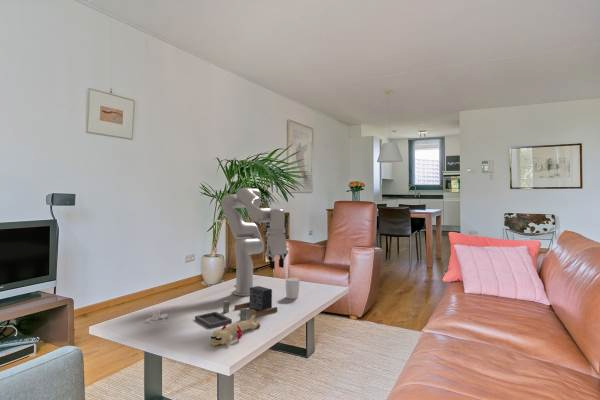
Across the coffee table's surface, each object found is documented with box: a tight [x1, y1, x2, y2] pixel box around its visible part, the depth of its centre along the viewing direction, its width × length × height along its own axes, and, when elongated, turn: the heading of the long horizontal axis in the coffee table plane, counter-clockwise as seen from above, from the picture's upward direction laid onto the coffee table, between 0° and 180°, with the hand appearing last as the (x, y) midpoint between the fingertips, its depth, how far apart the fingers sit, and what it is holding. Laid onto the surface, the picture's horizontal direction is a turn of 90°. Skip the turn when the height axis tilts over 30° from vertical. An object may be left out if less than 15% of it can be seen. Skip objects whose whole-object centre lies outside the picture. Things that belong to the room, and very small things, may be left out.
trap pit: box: [194, 311, 233, 329], centre depth 157 cm, size 14×10×2 cm
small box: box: [248, 285, 273, 312], centre depth 174 cm, size 11×6×10 cm, turn 47°
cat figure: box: [210, 309, 261, 346], centre depth 140 cm, size 10×9×25 cm
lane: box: [222, 300, 278, 322], centre depth 170 cm, size 17×20×5 cm
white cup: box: [285, 277, 301, 300], centre depth 196 cm, size 8×8×10 cm
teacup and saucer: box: [146, 309, 169, 324], centre depth 159 cm, size 9×8×4 cm
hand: (276, 267), depth 181 cm, fingers open, 5 cm apart
